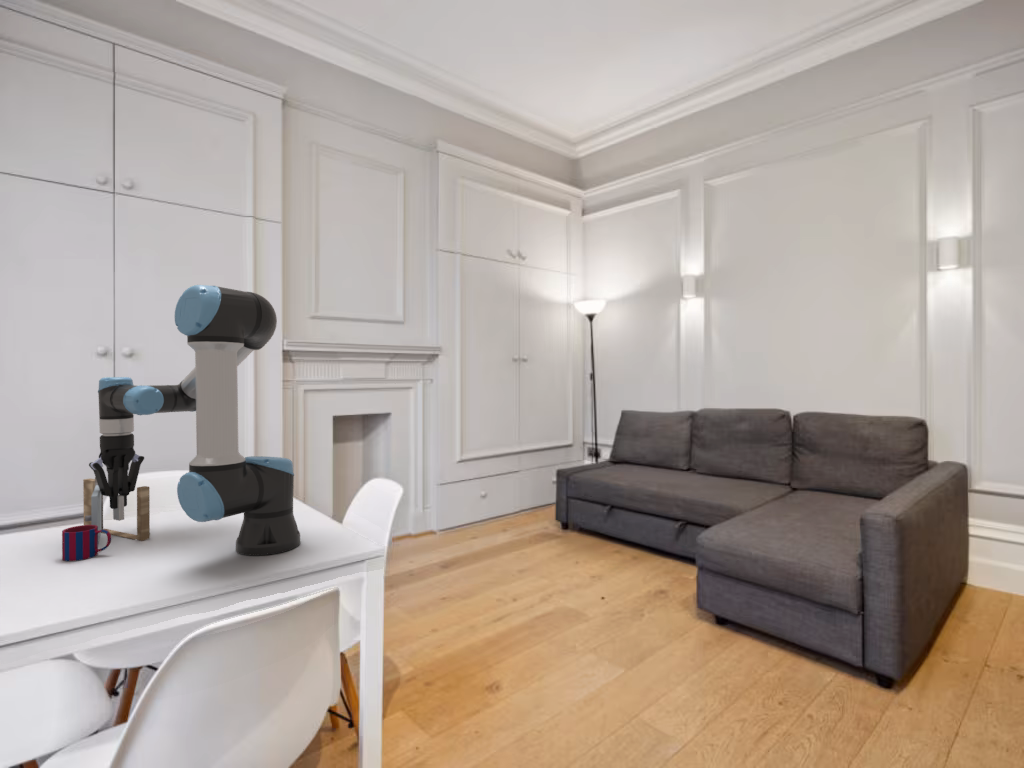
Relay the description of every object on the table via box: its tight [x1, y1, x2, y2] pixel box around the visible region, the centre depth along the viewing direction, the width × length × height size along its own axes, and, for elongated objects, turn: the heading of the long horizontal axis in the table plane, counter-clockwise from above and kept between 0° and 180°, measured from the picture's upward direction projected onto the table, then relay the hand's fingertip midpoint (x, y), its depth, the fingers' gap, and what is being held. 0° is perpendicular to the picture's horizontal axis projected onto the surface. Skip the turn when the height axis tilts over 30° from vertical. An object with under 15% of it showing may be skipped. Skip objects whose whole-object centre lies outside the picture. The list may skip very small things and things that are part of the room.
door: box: [85, 485, 102, 543], centre depth 141 cm, size 16×3×13 cm, turn 35°
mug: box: [61, 524, 112, 562], centre depth 128 cm, size 7×10×7 cm
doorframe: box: [82, 477, 151, 542], centre depth 147 cm, size 26×2×15 cm, turn 66°
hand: (118, 519), depth 146 cm, fingers closed
